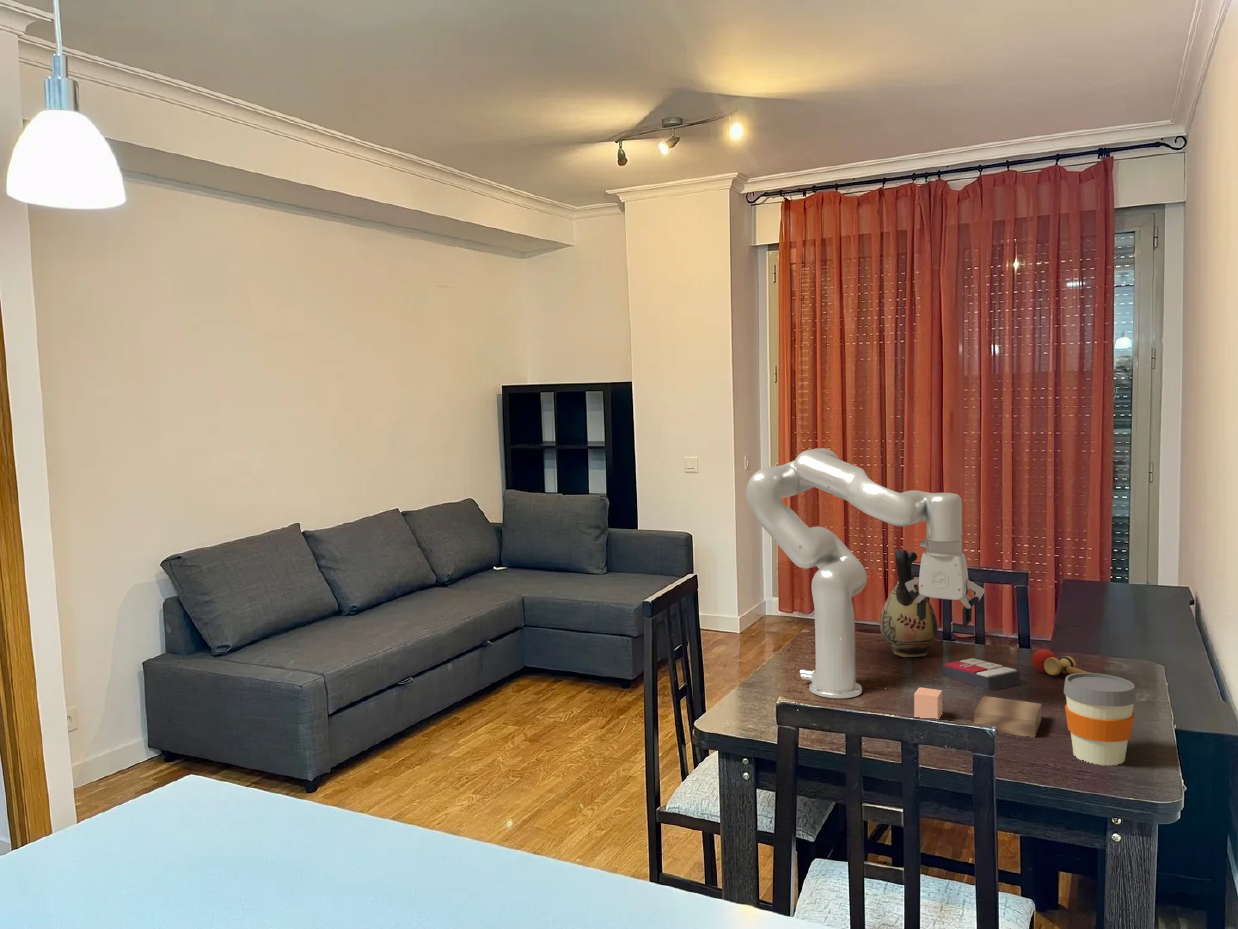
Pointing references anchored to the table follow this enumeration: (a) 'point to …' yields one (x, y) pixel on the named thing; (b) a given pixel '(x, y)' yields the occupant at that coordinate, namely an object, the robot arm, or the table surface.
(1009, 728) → the base
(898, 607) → the ceramic jug
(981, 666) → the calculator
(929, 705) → the block
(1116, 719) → the reusable coffee cup
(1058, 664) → the kendama
